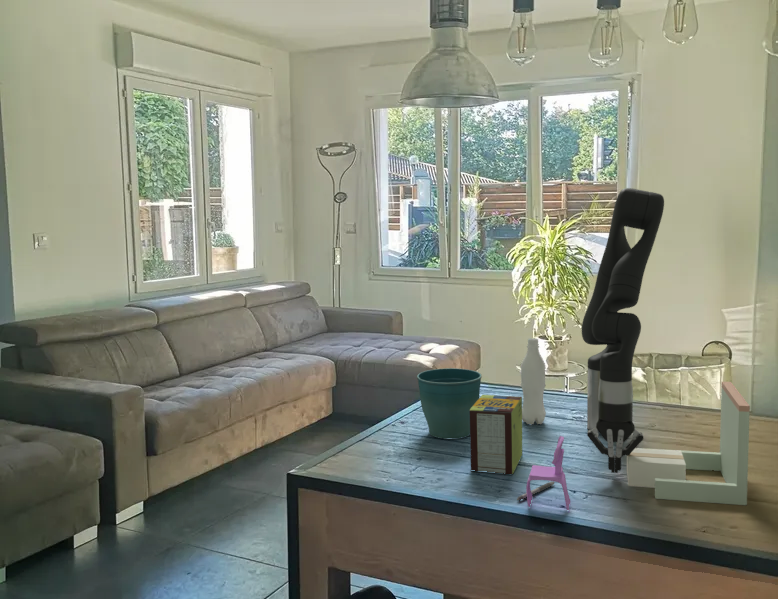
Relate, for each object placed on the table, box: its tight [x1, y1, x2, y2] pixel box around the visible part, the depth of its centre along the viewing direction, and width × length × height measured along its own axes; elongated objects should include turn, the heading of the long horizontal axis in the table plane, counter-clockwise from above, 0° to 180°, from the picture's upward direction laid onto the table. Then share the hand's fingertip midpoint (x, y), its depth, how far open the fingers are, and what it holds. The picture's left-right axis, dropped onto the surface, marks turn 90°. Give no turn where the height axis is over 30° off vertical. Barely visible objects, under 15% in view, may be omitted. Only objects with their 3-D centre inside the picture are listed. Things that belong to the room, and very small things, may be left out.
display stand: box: [654, 381, 751, 506], centre depth 165 cm, size 18×22×21 cm
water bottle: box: [520, 338, 547, 426], centre depth 216 cm, size 7×7×25 cm
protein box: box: [469, 394, 523, 475], centre depth 182 cm, size 10×15×16 cm
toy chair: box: [525, 435, 571, 511], centre depth 156 cm, size 8×9×15 cm
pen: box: [516, 481, 555, 501], centre depth 163 cm, size 1×14×1 cm, turn 134°
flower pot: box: [416, 367, 483, 439], centre depth 208 cm, size 18×18×17 cm
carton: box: [626, 447, 687, 489], centre depth 169 cm, size 12×10×6 cm
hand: (614, 471), depth 171 cm, fingers closed
